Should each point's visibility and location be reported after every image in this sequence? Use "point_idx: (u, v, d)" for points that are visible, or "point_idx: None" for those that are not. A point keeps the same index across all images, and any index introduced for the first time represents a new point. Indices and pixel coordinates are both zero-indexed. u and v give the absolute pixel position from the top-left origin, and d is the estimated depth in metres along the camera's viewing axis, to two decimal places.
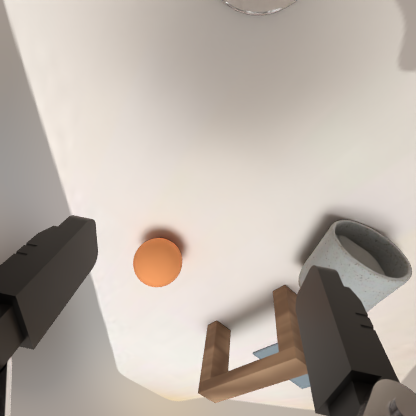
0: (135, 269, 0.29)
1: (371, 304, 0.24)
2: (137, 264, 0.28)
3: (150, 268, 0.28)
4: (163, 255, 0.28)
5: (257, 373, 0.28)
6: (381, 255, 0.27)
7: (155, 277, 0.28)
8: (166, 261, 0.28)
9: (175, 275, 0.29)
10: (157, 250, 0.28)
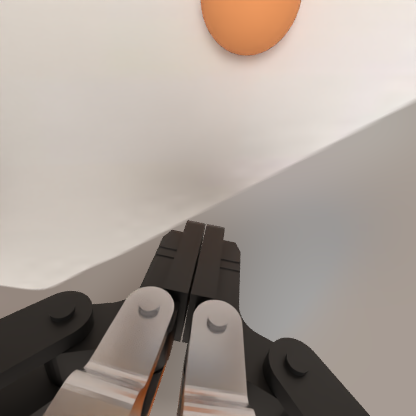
0: (261, 35, 0.14)
1: None
2: (244, 39, 0.14)
3: (227, 9, 0.13)
4: (203, 3, 0.14)
5: None
6: None
7: None
8: None
9: None
10: (206, 20, 0.15)
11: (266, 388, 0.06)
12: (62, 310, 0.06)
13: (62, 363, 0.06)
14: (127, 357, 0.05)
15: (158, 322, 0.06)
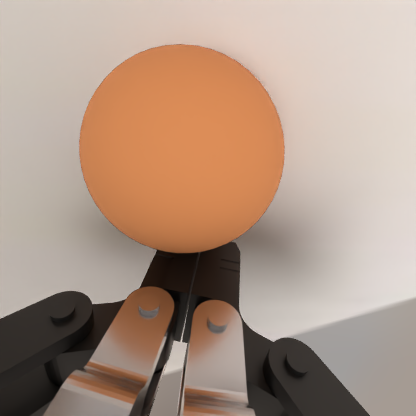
0: (206, 239, 0.06)
1: None
2: (169, 245, 0.06)
3: (116, 198, 0.06)
4: None
5: None
6: None
7: (128, 148, 0.05)
8: (80, 148, 0.06)
9: (127, 61, 0.06)
10: None
11: (266, 388, 0.06)
12: (62, 310, 0.06)
13: (62, 363, 0.06)
14: (127, 357, 0.05)
15: (158, 322, 0.06)
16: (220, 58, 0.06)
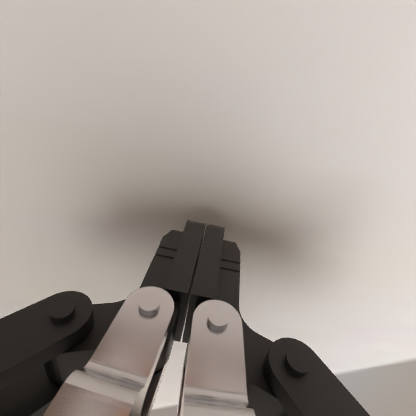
0: None
1: None
2: None
3: None
4: None
5: None
6: None
7: None
8: None
9: None
10: None
11: (266, 388, 0.06)
12: (62, 310, 0.06)
13: (62, 363, 0.06)
14: (127, 357, 0.05)
15: (158, 322, 0.06)
16: None
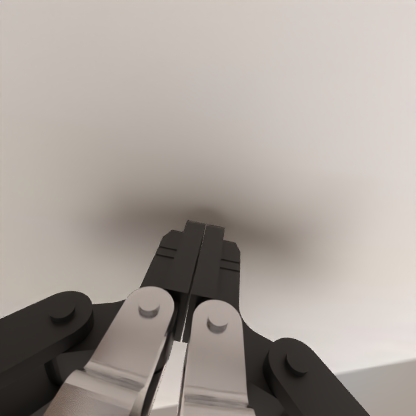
0: None
1: None
2: None
3: None
4: None
5: None
6: None
7: None
8: None
9: None
10: None
11: (266, 388, 0.06)
12: (62, 310, 0.06)
13: (62, 363, 0.06)
14: (127, 357, 0.05)
15: (158, 322, 0.06)
16: None
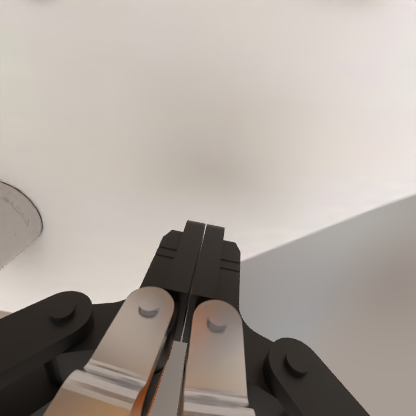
0: None
1: None
2: None
3: None
4: None
5: None
6: None
7: None
8: None
9: None
10: None
11: (266, 388, 0.06)
12: (62, 310, 0.06)
13: (62, 363, 0.06)
14: (127, 357, 0.05)
15: (158, 322, 0.06)
16: None
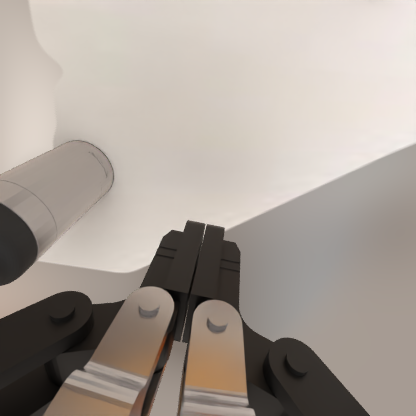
0: None
1: None
2: None
3: None
4: None
5: None
6: None
7: None
8: None
9: None
10: None
11: (266, 388, 0.06)
12: (62, 310, 0.06)
13: (62, 363, 0.06)
14: (127, 357, 0.05)
15: (158, 322, 0.06)
16: None
